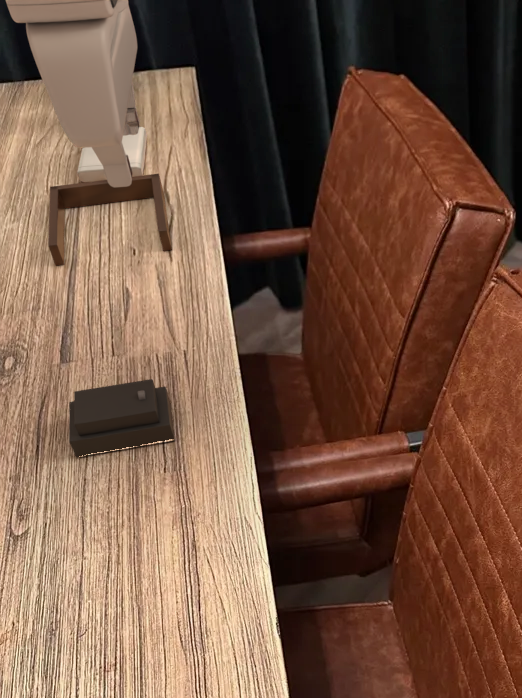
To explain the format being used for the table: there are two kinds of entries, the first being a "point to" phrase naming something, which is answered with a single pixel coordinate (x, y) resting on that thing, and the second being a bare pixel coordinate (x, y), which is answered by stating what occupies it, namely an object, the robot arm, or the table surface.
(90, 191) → the desk frame
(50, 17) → the robot arm
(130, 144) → the hard drive
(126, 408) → the stepped dark block
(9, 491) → the table surface
